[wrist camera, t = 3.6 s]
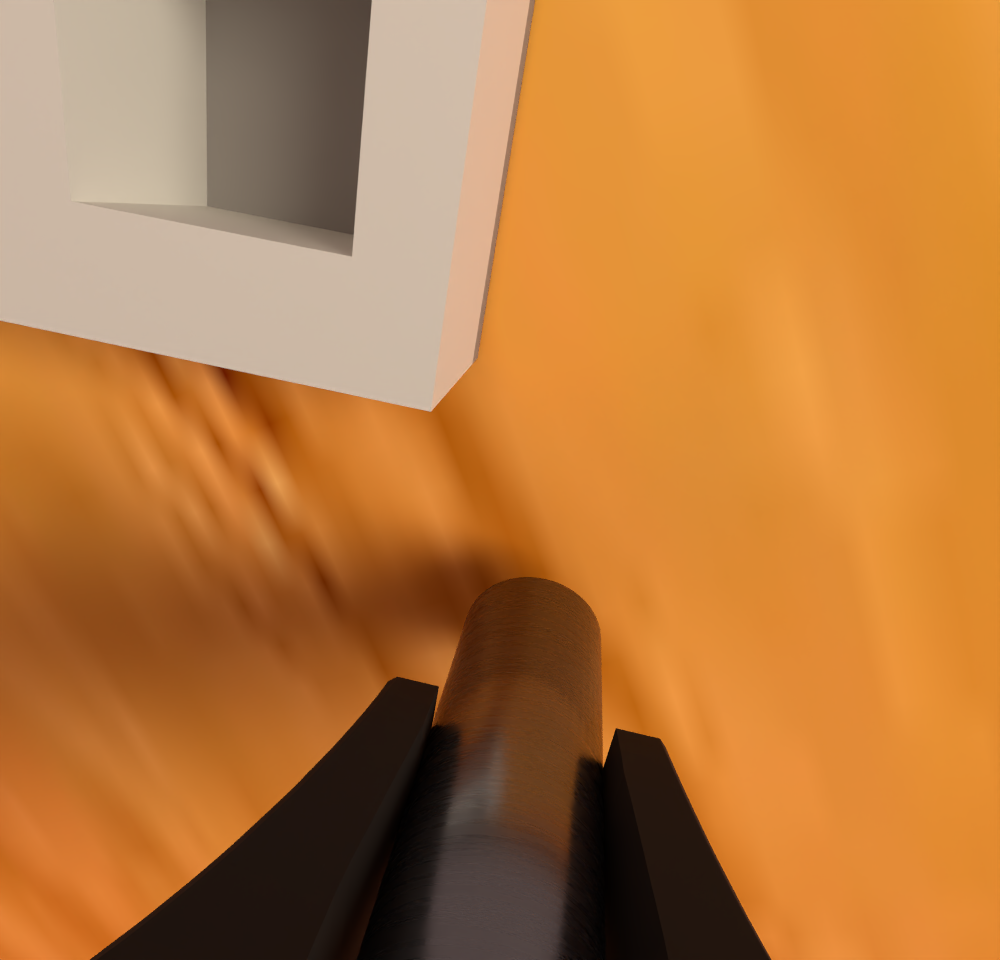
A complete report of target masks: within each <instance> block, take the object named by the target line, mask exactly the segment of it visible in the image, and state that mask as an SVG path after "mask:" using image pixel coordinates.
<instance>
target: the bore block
mask: <svg viewBox="0 0 1000 960" xmlns="http://www.w3.org/2000/svg"><path fill="white" fill-rule="evenodd" d="M534 3H535V0H0V321H5V322H10V323H14V324H19V325H24V326H29V327H33V328H38V329H43V330H48V331H52V332H57V333H62V334H66V335H71V336H76V337H81V338H85V339H90V340H95V341H100V342H104V343H109V344H114V345H118V346H123V347H128V348H133V349H137V350H142V351H147V352H151V353H156V354H161V355H166V356H170V357H175V358H180V359H185V360H189V361H194V362H199V363H203V364H208V365H213V366H218V367H222V368H227V369H232V370H237V371H241V372H246V373H251V374H255V375H260V376H265V377H270V378H274V379H279V380H284V381H289V382H293V383H298V384H303V385H307V386H312V387H317V388H322V389H326V390H331V391H336V392H340V393H345V394H350V395H355V396H359V397H364V398H369V399H374V400H378V401H383V402H388V403H392V404H397V405H402V406H407V407H411V408H416V409H421V410H426V411H430V412H431V411H432V410H433V409H434V407H435V406H436V405H437V404H438V403H439V402H440V401H441V399H442V398H443V397H444V396H445V395H446V394H447V393H448V391H449V390H450V389H451V388H452V387H453V386H454V384H455V383H456V382H457V381H458V380H459V379H460V378H461V376H462V375H463V374H464V373H465V372H466V371H467V370H468V368H469V367H470V366H471V365H472V364H473V363H474V361H475V360H476V359H477V357H478V351H479V345H480V339H481V333H482V326H483V320H484V314H485V308H486V302H487V295H488V289H489V283H490V277H491V270H492V264H493V258H494V252H495V246H496V239H497V233H498V227H499V221H500V214H501V208H502V202H503V196H504V190H505V183H506V177H507V171H508V165H509V159H510V152H511V146H512V140H513V134H514V127H515V121H516V115H517V109H518V103H519V96H520V90H521V84H522V78H523V71H524V65H525V59H526V53H527V47H528V40H529V34H530V28H531V22H532V16H533V9H534Z"/></svg>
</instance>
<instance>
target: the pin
mask: <svg viewBox="0 0 1000 960" xmlns="http://www.w3.org/2000/svg"><path fill="white" fill-rule="evenodd" d="M357 960H606V938H605V872H604V807H603V741H602V676H601V634H600V628H599V624H598V621H597V619H596V616H595V614H594V613H593V611H592V609H591V608H590V607H589V605H588V604H587V603H586V602H585V601H584V600H583V599H582V598H581V597H580V596H579V595H578V594H576V593H575V592H574V591H572V590H571V589H569V588H567V587H565V586H563V585H561V584H559V583H556V582H554V581H550V580H547V579H541V578H532V577H523V578H515V579H509V580H506V581H503V582H500V583H498V584H496V585H494V586H492V587H490V588H489V589H487V590H486V591H485V592H483V593H482V594H481V595H480V596H479V597H478V598H477V599H476V600H475V602H474V603H473V605H472V606H471V608H470V610H469V613H468V615H467V618H466V621H465V624H464V628H463V631H462V634H461V637H460V640H459V643H458V646H457V649H456V652H455V656H454V659H453V662H452V665H451V668H450V671H449V674H448V677H447V680H446V683H445V687H444V690H443V693H442V696H441V699H440V702H439V705H438V708H437V711H436V714H435V718H434V721H433V724H432V729H431V732H430V735H429V738H428V741H427V744H426V747H425V750H424V753H423V757H422V760H421V763H420V766H419V769H418V772H417V775H416V778H415V782H414V785H413V788H412V790H411V793H410V796H409V799H408V801H407V804H406V808H405V811H404V814H403V817H402V820H401V823H400V826H399V829H398V832H397V835H396V839H395V842H394V845H393V848H392V851H391V854H390V857H389V860H388V863H387V866H386V870H385V873H384V876H383V879H382V882H381V885H380V888H379V891H378V894H377V897H376V901H375V904H374V907H373V910H372V913H371V916H370V919H369V922H368V925H367V929H366V932H365V935H364V938H363V941H362V944H361V947H360V950H359V953H358V956H357Z"/></svg>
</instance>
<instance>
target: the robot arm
mask: <svg viewBox="0 0 1000 960" xmlns="http://www.w3.org/2000/svg"><path fill="white" fill-rule="evenodd" d="M438 688H439V687H438V686H434V685H430V684H426V683H422V682H417V681H413V680H409V679H405V678H400V677H396V678H394V679H392V680H390V681H388V682H387V684H386V685H385V686H384V688H383V689H382V691H381V692H380V693H379V694H378V696H377V697H376V698H375V699H374V701H373V702H372V703H371V704H370V706H369V707H368V708H367V709H366V710H365V712H364V713H363V714H362V715H361V716H360V718H359V719H358V720H357V721H356V722H355V723H354V724H353V726H352V727H351V728H350V729H349V730H348V731H347V732H346V733H345V734H344V736H343V737H342V738H341V739H340V740H339V741H338V742H337V743H336V744H335V745H334V747H333V748H332V749H331V750H330V751H329V752H328V753H327V754H326V755H325V756H324V757H323V758H322V759H321V760H320V761H319V762H318V763H317V764H316V765H315V766H314V767H313V768H312V769H311V770H310V771H309V772H308V773H307V774H306V775H305V776H304V778H303V779H302V780H301V781H300V782H299V783H298V784H297V785H296V786H295V787H294V788H293V789H292V790H291V791H290V792H289V793H288V794H287V795H286V796H284V797H283V798H282V799H281V800H280V801H279V802H278V803H277V804H276V805H275V806H274V807H273V808H272V809H271V810H269V811H268V812H267V813H266V814H265V815H264V816H263V817H262V818H261V819H260V820H259V821H258V822H257V823H255V824H254V825H253V826H252V827H251V828H250V829H249V830H248V831H247V832H246V833H245V834H244V835H243V836H241V837H240V838H239V839H238V840H237V841H236V842H235V843H234V844H233V845H232V846H231V847H229V848H228V849H227V850H226V851H225V852H224V853H223V854H221V855H220V856H219V857H218V858H217V859H216V860H214V861H213V862H212V863H211V864H210V865H209V866H208V867H206V868H205V869H204V870H203V871H202V872H200V873H199V874H198V875H197V876H196V877H195V878H193V879H192V880H191V881H190V882H189V883H187V884H186V885H185V886H184V887H183V888H181V889H180V890H179V891H178V892H176V893H175V894H174V895H173V896H171V897H170V898H169V899H168V900H166V901H165V902H164V903H163V904H162V905H160V906H159V907H158V908H157V909H155V910H154V911H153V912H152V913H150V914H149V915H148V916H147V917H145V918H144V919H143V920H142V921H140V922H139V923H138V924H136V925H135V926H134V927H132V928H131V929H130V930H128V931H127V932H126V933H125V934H123V935H122V936H121V937H119V938H118V939H117V940H115V941H114V942H113V943H111V944H110V945H109V946H107V947H106V948H105V949H103V950H102V951H101V952H99V953H98V954H97V955H95V956H94V957H93V958H91V959H90V960H357V956H358V953H359V950H360V947H361V944H362V941H363V938H364V935H365V932H366V929H367V925H368V922H369V919H370V916H371V913H372V910H373V907H374V904H375V901H376V897H377V894H378V891H379V888H380V885H381V882H382V879H383V876H384V873H385V870H386V866H387V863H388V860H389V857H390V854H391V851H392V848H393V845H394V842H395V839H396V835H397V832H398V829H399V826H400V823H401V820H402V817H403V814H404V811H405V808H406V804H407V801H408V799H409V796H410V793H411V790H412V788H413V785H414V782H415V778H416V775H417V772H418V769H419V766H420V763H421V760H422V757H423V753H424V750H425V747H426V744H427V741H428V738H429V735H430V732H431V729H432V723H433V717H434V711H435V706H436V700H437V694H438ZM603 807H604V872H605V938H606V960H771V958H770V956H769V955H768V953H767V951H766V950H765V948H764V946H763V944H762V942H761V941H760V939H759V937H758V935H757V933H756V931H755V930H754V928H753V926H752V924H751V922H750V920H749V919H748V917H747V915H746V913H745V911H744V909H743V907H742V905H741V904H740V902H739V900H738V898H737V896H736V894H735V892H734V890H733V888H732V886H731V884H730V882H729V880H728V879H727V877H726V875H725V873H724V871H723V869H722V867H721V865H720V863H719V861H718V859H717V857H716V855H715V853H714V851H713V849H712V847H711V845H710V843H709V841H708V839H707V837H706V835H705V833H704V831H703V829H702V827H701V825H700V822H699V820H698V818H697V816H696V814H695V812H694V810H693V808H692V806H691V803H690V801H689V799H688V797H687V795H686V793H685V790H684V788H683V786H682V784H681V782H680V779H679V777H678V775H677V773H676V770H675V768H674V766H673V764H672V761H671V759H670V757H669V754H668V752H667V750H666V748H665V746H664V744H663V743H662V741H661V740H660V739H659V738H655V737H650V736H646V735H642V734H638V733H633V732H629V731H625V730H621V729H616V730H615V733H614V736H613V739H612V742H611V746H610V749H609V752H608V755H607V758H606V761H605V764H604V767H603Z"/></svg>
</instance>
